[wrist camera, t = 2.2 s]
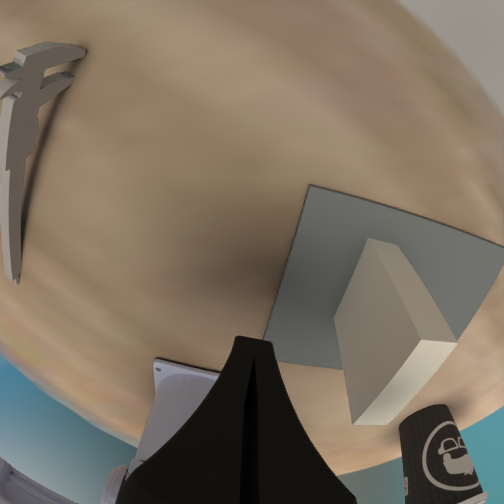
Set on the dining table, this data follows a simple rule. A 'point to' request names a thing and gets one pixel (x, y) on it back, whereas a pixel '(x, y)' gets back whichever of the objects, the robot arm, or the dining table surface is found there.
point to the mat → (346, 259)
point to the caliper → (24, 130)
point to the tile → (388, 334)
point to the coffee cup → (437, 460)
